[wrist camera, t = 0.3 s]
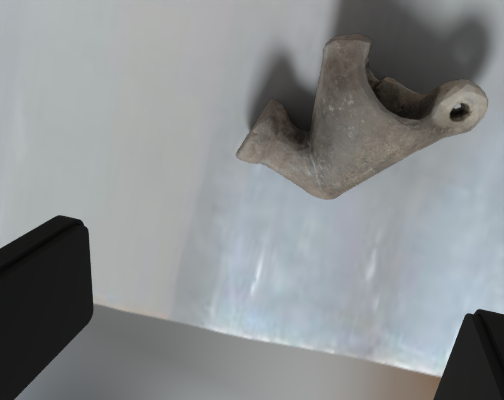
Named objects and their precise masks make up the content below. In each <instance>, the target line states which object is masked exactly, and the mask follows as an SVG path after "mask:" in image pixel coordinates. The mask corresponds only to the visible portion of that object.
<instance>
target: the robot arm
mask: <svg viewBox="0 0 504 400" xmlns="http://www.w3.org/2000/svg"><path fill="white" fill-rule="evenodd" d="M92 315H93V294H92V279H91V263H90V247H89V232H88V229H87V227H85V226H84V224H83V222H82V221H81V220H80V219H75V218H71V217H66V216H61V215H58V216H56V217H54V218H52V219H50V220H49V221H47V222H45V223H44V224H42V225H40V226H38V227H37V228H35V229H33V230H31V231H30V232H28V233H26V234H25V235H23V236H21V237H19V238H18V239H16V240H14V241H12V242H11V243H9V244H7V245H6V246H4V247H2V248H0V400H14V399H15V398H16V397H17V396H18V395H19V394H20V393H21V392H22V391H23V390H24V389H25V388H26V387H27V386H28V385H29V384H30V382H32V381H33V380H34V379H35V377H36V376H37V375H38V374H39V373H40V372H41V371H42V370H43V369H44V368H45V367H46V366H47V365H48V364H49V363H50V362H51V361H52V360H53V359H54V358H55V357H56V356H57V355H58V354H59V353H60V352H61V351H62V350H63V349H64V347H66V345H67V344H68V343H69V342H70V341H71V340H72V339H73V338H74V337H75V336H76V335H77V334H78V333H79V332H80V331H81V330H82V329H83V328H84V327H85V326H86V325H87V324H88V323H89V321H90V320H91V318H92ZM434 400H504V314H500V313H495V312H491V311H486V310H482V309H478V310H477V311H476V312H475V313H474V314H469V313H468V314H466V316H465V317H464V320H463V322H462V325H461V328H460V330H459V333H458V336H457V338H456V341H455V344H454V346H453V349H452V352H451V354H450V357H449V360H448V362H447V365H446V368H445V370H444V373H443V376H442V378H441V381H440V383H439V386H438V389H437V392H436V394H435V397H434Z"/></svg>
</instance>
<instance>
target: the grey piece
mask: <svg viewBox="0 0 504 400" xmlns="http://www.w3.org/2000/svg"><path fill="white" fill-rule="evenodd" d="M371 44H372V41H371V40H370V39H369V38H368V37H367V36H366V35H362V34H358V33H357V34H352V35H342V36H337V37H335V38H333V39H331V40H330V41H328V42H327V43H326V45H325V47H324V49H323V61H322V67H321V73H320V77H319V82H318V88H317V93H316V98H315V104H314V110H313V116H312V122H311V128H310V132H305V131H303V130H301V129H299V128H297V127H296V126H295V125H294V124H293V123H292V122H291V121H290V119H289V117H288V113H287V111H286V109H285V108H284V106H283V105H282V104H281V103H280V102H279V101H278V100H277V99H275V98H272V99H271V100H270V101H269V103H268V104H267V105H266V107H265V108H264V110H263V112H262V113H261V115H260V116H259V118H258V120H257V121H256V123H255V124H254V126H253V128H252V129H251V131H250V132H249V134H248V135H247V137H246V138H245V140H244V142H243V143H242V145H241V146H240V148H239V149H238V151H237V153H236V157H237V158H238V159H240V160H242V161H245V162H248V163H253V164H258V163H259V164H263V165H265V166H267V167H269V168H271V169H272V170H274V171H276V172H277V173H279V174H280V175H282V176H283V177H285V178H287V179H288V180H290V181H292V182H293V183H294V184H296V185H297V186H299V187H301V188H302V189H304V190H305V191H306V192H308V193H309V194H311V195H313V196H315V197H318V198H321V199H325V200H329V199H335V198H336V197H338V196H340V195H341V194H343V193H344V192H346V191H348V190H349V189H351V188H353V187H355V186H356V185H358V184H360V183H362V182H364V181H365V180H367V179H369V178H370V177H372V176H374V175H375V174H377V173H379V172H381V171H383V170H384V169H386V168H388V167H390V166H392V165H393V164H395V163H397V162H399V161H400V160H402V159H404V158H405V157H407V156H409V155H411V154H412V153H414V152H416V151H418V150H421V149H423V148H425V147H427V146H429V145H431V144H433V143H435V142H436V141H438V140H440V139H442V138H445V137H449V136H453V135H457V134H462V133H465V132H468V131H471V130H472V129H473V128H474V127H475V126H476V125H477V124H478V123H479V122H480V120H481V119H482V118H483V117H484V115H485V112H486V110H487V108H488V99H487V97H486V94H485V92H484V91H483V90H482V89H481V88H480V87H479V86H478V85H476V84H475V83H473V82H472V81H470V80H465V79H458V80H453V81H450V82H447V83H445V84H442V85H440V86H439V87H437V88H436V89H434V90H432V91H431V92H429V93H426V94H420V93H417V92H414V91H412V90H410V89H408V88H406V87H405V86H403V85H402V84H400V83H399V82H398V81H396V80H394V79H393V78H391V77H385V78H384V79H383V80H382V81H381V82H380V81H379V80H378V79H376V78H375V77H374V75H373V74H372V72H371V71H370V69H369V66H368V64H369V61H370V59H369V57H368V53H369V51H370V48H371ZM457 104H461V107H460V108H457V109H455V108H454V107H455V106H456V105H457Z"/></svg>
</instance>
